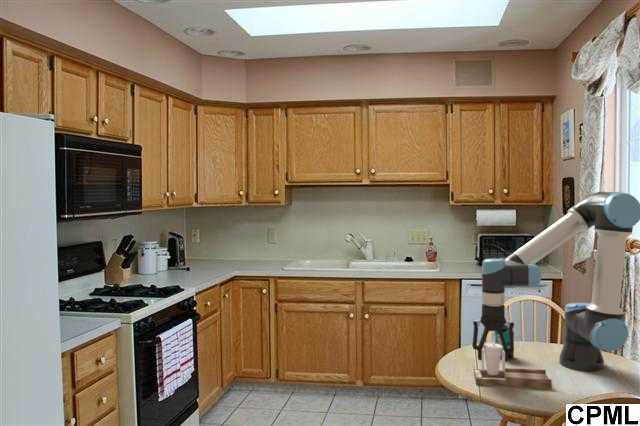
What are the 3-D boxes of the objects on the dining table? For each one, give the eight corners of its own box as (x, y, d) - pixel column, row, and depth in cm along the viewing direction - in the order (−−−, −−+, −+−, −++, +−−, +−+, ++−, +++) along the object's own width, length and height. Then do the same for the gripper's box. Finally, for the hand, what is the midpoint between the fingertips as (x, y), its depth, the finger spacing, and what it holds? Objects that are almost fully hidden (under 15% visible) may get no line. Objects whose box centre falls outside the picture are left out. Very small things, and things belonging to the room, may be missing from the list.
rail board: (545, 378, 191) (545, 369, 191) (551, 388, 182) (551, 379, 182) (474, 374, 196) (474, 366, 196) (476, 384, 187) (476, 375, 186)
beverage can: (517, 358, 213) (517, 328, 212) (501, 360, 211) (501, 329, 210) (507, 353, 219) (507, 323, 219) (491, 355, 218) (491, 325, 217)
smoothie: (491, 377, 186) (492, 336, 185) (479, 371, 192) (479, 332, 191) (506, 374, 188) (506, 334, 188) (493, 369, 194) (493, 330, 193)
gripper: (520, 302, 190) (520, 367, 192) (463, 300, 194) (463, 364, 196) (524, 307, 183) (523, 375, 184) (465, 305, 187) (464, 371, 188)
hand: (492, 369), depth 190 cm, fingers closed on smoothie, 6 cm apart
